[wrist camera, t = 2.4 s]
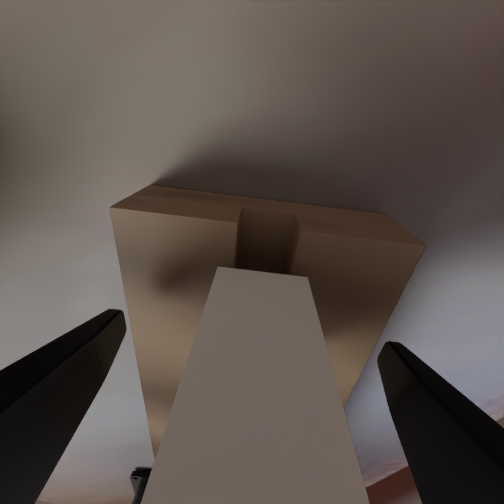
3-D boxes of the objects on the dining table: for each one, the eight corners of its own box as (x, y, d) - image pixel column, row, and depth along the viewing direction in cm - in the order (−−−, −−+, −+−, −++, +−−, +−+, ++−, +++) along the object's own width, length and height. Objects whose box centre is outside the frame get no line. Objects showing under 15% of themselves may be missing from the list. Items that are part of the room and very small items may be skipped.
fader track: (291, 450, 20) (295, 503, 17) (173, 437, 20) (158, 488, 17) (384, 213, 10) (430, 248, 7) (149, 185, 10) (105, 209, 7)
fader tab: (283, 329, 11) (310, 624, 5) (219, 321, 11) (154, 607, 5) (301, 255, 9) (389, 576, 3) (224, 246, 9) (126, 548, 3)
